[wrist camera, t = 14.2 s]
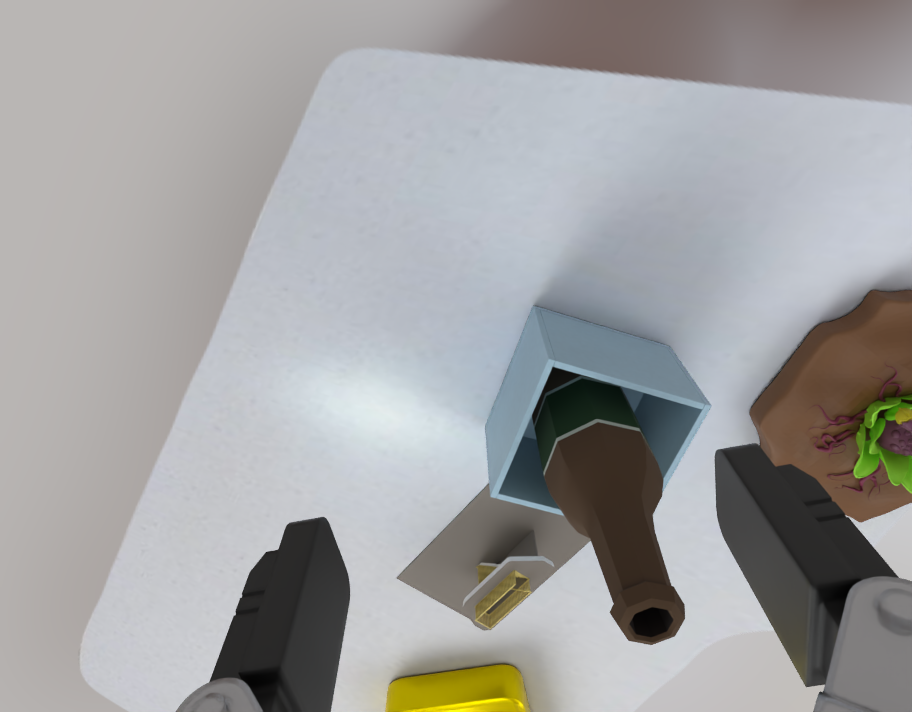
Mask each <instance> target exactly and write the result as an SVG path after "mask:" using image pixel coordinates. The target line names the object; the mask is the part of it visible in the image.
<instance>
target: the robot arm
mask: <svg viewBox="0 0 912 712" xmlns="http://www.w3.org/2000/svg"><path fill="white" fill-rule="evenodd" d="M715 481H716V509H717V517H718V522H719V526H720V529H721V532H722V535H723V537H724V539H725V541H726V543H727V545H728V547H729V549H730V551H731V552H732V554H733V556H734V558H735V560H736V561H737V563H738V565H739V567H740V569H741V570H742V572H743V574H744V576H745V578H746V579H747V581H748V583H749V585H750V587H751V589H752V590H753V592H754V594H755V596H756V598H757V599H758V601H759V603H760V605H761V607H762V608H763V610H764V612H765V614H766V616H767V617H768V619H769V621H770V623H771V625H772V626H773V628H774V630H775V632H776V633H777V635H778V637H779V639H780V641H781V643H782V645H783V646H784V648H785V650H786V652H787V654H788V655H789V657H790V659H791V661H792V663H793V664H794V666H795V668H796V670H797V672H798V673H799V675H800V677H801V679H802V680H803V682H804V684H805V686H806V687H810V686H817V685H824V684H825V688H824V691H823V692H819V695H818V697H817V700H816V704H815V708H814V711H813V712H912V581H909V580H906V579H901V578H899V577H898V576H897V575H896V574H895V573H894V572H893V570H892V569H891V568H890V567H889V566H888V564H887V563H886V562H885V561H884V560H883V558H882V557H881V556H880V555H879V554H878V552H877V551H876V550H875V549H874V548H873V546H872V545H871V544H870V543H869V542H868V540H867V539H866V538H865V537H864V536H863V534H862V533H861V532H860V531H859V530H858V528H857V527H856V526H855V525H854V524H853V522H852V521H851V520H850V519H849V518H848V517H847V518H846V516H845V513H844V512H843V511H842V509H841V508H840V507H839V506H838V505H837V503H836V502H835V501H834V502H833V501H832V497H831V496H830V495H829V494H828V493H827V491H826V490H825V489H824V488H823V487H822V485H821V484H820V483H819V482H818V481H817V479H816V478H814V477H812V476H811V475H809V474H807V473H805V472H804V471H802V470H800V469H799V468H797V467H795V466H794V465H792V464H787V465H781V466H775V465H774V464H773V463H772V461H771V460H770V459H769V457H768V456H767V455H766V453H765V452H764V451H763V450H762V448H761V447H760V446H759V445H758V444H756V443H753V444H747V445H742V446H736V447H730V448H724V449H719V450H717V451H716V453H715ZM349 601H350V584H349V577H348V573H347V570H346V567H345V564H344V561H343V559H342V556H341V553H340V551H339V548H338V546H337V543H336V540H335V538H334V535H333V532H332V530H331V527H330V524H329V522H328V520H327V519H326V518H325V517H320V518H314V519H308V520H303V521H297V522H291V523H289V524H288V525H287V526H286V528H285V531H284V534H283V537H282V540H281V543H280V546H279V549H278V550H275V551H269V552H266V553H265V554H264V556H263V557H262V558H261V559H260V560H259V562H258V563H257V564H256V565H255V567H254V568H253V569H252V570H251V572H250V573H249V576H248V579H247V581H246V584H245V587H244V590H243V592H242V598H240V600H239V603H238V606H237V609H236V616H234V617H233V620H232V622H231V625H230V628H229V630H228V633H227V636H226V639H225V641H224V644H223V647H222V649H221V652H220V655H219V658H218V660H217V663H216V666H215V668H214V671H213V674H212V677H211V679H210V682H209V683H207V684H205V685H203V686H202V687H200V688H198V689H197V690H196V691H194V692H193V693H192V694H191V695H190V696H189V697H187V698H186V699H185V700H184V702H183V703H182V704H181V705H180V706H179V708H178V709H177V711H176V712H331V706H332V700H333V694H334V688H335V683H336V677H337V671H338V665H339V659H340V654H341V648H342V642H343V636H344V630H345V625H346V619H347V613H348V607H349Z"/></svg>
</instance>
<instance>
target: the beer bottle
mask: <svg viewBox="0 0 912 712" xmlns="http://www.w3.org/2000/svg"><path fill="white" fill-rule="evenodd" d="M532 419H533V424H534V429H535V434H536V439H537V444H538V449H539V454H540V459H541V464H542V469H543V474H544V478H545V481H546V484H547V487H548V490H549V493H550V495H551V496H552V498H553V499H554V501H555V502H556V504H557V505H558V507H559V508H560V510H561V511H562V513H563V514H564V516H565V517H566V519H567V520H568V522H569V523H570V524H571V525H572V527H573V528H574V529H575V530H576V531H577V532H578V533H579V534H581V535H584V536H586V537H588V538H590V539H591V542H592V545H593V547H594V550H595V553H596V556H597V558H598V561H599V564H600V567H601V570H602V572H603V575H604V578H605V581H606V583H607V586H608V589H609V592H610V595H611V597H612V600H613V603H614V605H613V607H612V609H611V611H610V613H611V615H612V617H613V618H614V620H615V621H616V623H617V624H618V626H619V627H620V629H621V630H622V632H623V633H624V635H625V636H626V638H627V639H628V641H633V642H639V643H644V644H649V645H653V644H656V643H658V642H661V641H663V640H666V639H669V638H671V637H674V636H675V635H676V633H677V632H678V630H679V628H680V626H681V625H682V623H683V621H684V619H685V608H684V603H683V602H682V600H681V598H680V597H679V595H678V593H677V592H676V590H675V588H674V587H673V586H671V583H670V580H669V577H668V573H667V570H666V567H665V564H664V560H663V557H662V554H661V551H660V547H659V544H658V541H657V538H656V534H655V530H654V523H653V513H654V511H655V509H656V507H657V505H658V503H659V501H660V499H661V497H662V491H663V481H664V479H663V477H662V474H661V471H660V468H659V465H658V462H657V460H656V458H655V456H654V454H653V452H652V450H651V447H650V445H649V443H648V441H647V439H646V437H645V435H644V433H643V431H642V428H641V426H640V424H639V422H638V420H637V418H636V416H635V414H634V412H633V409H632V407H631V405H630V403H629V401H628V399H627V397H626V395H625V393H624V392H623V390H622V388H621V386H618V385H615V384H611V383H608V382H605V381H601V380H598V379H594V378H591V377H587V376H584V375H580V374H577V373H573V372H570V371H566V370H563V369H559V368H556V367H552V369H551V372H550V374H549V376H548V379H547V381H546V383H545V386H544V388H543V390H542V393H541V395H540V397H539V400H538V402H537V404H536V407H535V409H534V411H533V414H532Z"/></svg>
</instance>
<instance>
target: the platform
mask: <svg viewBox="0 0 912 712" xmlns="http://www.w3.org/2000/svg"><path fill="white" fill-rule="evenodd" d="M590 541H591V539H590V538H588V537H586V536H584V535H581V534H579V533H578V532H577V531H576V530H575V529H574V528H573V527H572V525H571V524H570V523H569V522H568V520H567V519H566V517H565V516H563V515H559V514H555V513H551V512H547V511H543V510H539V509H536V508H532V507H528V506H524V505H520V504H516V503H512V502H508V501H504V500H500V499H497V498H493V497H490V488H489V484H488V485H487V486H486V487H485V488H484V489H483V490H482V491H481V492H480V493H479V494H478V495H477V496H476V498H475V499H474V500H473V501H472V502H471V503H470V504H469V505H468V506H467V507H466V508H465V509H464V510H463V511H462V512H461V513H460V514H459V515H458V516H457V517H456V518H455V519H454V520H453V521H452V522H451V523H450V524H449V525H448V526H447V527H446V528H445V529H444V530H443V531H442V532H441V533H440V534H439V535H438V536H437V537H436V538H435V539H434V540H433V542H432V543H431V544H430V545H429V546H428V547H427V548H426V549H425V550H424V551H423V552H422V553H421V554H420V555H419V556H418V557H417V558H416V559H415V560H414V561H413V562H412V563H411V564H410V565H409V566H408V567H407V568H406V569H405V570H404V571H403V572H402V573H401V574H400V575H399V576H398V577H397V579H399V580H401V581H402V582H404V583H406V584H408V585H410V586H411V587H413V588H415V589H417V590H419V591H420V592H422V593H424V594H426V595H428V596H429V597H431V598H433V599H435V600H437V601H438V602H440V603H442V604H444V605H446V606H447V607H449V608H451V609H453V610H455V611H456V612H458V613H460V614H462V615H464V616H465V617H467V618H469V619H471V621H472V622H473V624H474V625H475V626H477V627H479V628H480V629H482V630H491V629H492V628H493V627H495V626H496V625H497V624H498V623H499V622H500V621H501V620H502V619H504V618H505V617H506V616H507V615H508V614H509V613H510V612H511V611H512V610H514V609H515V608H516V607H517V606H518V605H519V604H520V603H521V602H523V601H524V600H525V599H526V598H527V597H528V596H529V595H530V594H531V593H533V592H534V591H535V590H536V589H537V588H538V587H539V586H540V585H541V584H543V583H544V582H545V581H546V580H547V579H548V578H549V577H550V576H552V575H553V574H554V573H555V572H556V571H557V570H558V569H559V568H560V567H562V566H563V565H564V564H565V563H566V562H567V561H568V560H569V559H571V558H572V557H573V556H574V555H575V554H576V553H577V552H578V551H579V550H581V549H582V548H583V547H584V546H585V545H586V544H587V543H588V542H590Z"/></svg>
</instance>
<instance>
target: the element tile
mask: <svg viewBox="0 0 912 712" xmlns="http://www.w3.org/2000/svg"><path fill="white" fill-rule="evenodd" d="M385 712H530V708H529V704H528V699H527V695H526V691H525V687H524V682H523V678H522V675H521V673H520V672H519V671H518V669H517V668H515V667H513V666H511V665H504V664H499V665H492V666H485V667H477V668H470V669H463V670H456V671H448V672H441V673H434V674H427V675H419V676H412V677H405V678H400V679H397V680H395V681H393V682H392V683H391V684H390V685H389V687H388V691H387V701H386V710H385Z"/></svg>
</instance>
